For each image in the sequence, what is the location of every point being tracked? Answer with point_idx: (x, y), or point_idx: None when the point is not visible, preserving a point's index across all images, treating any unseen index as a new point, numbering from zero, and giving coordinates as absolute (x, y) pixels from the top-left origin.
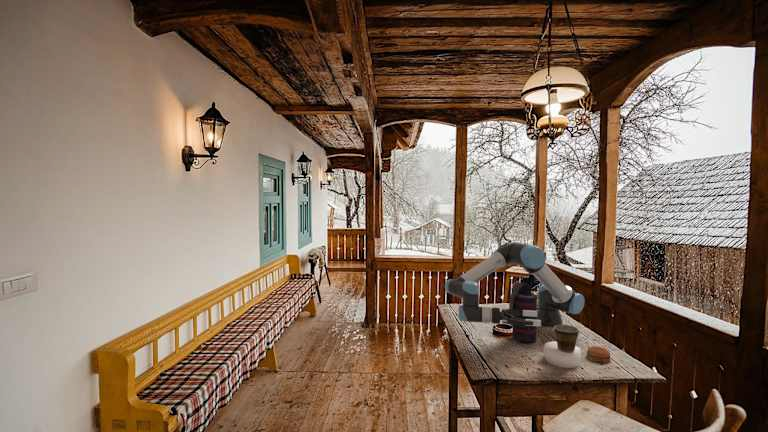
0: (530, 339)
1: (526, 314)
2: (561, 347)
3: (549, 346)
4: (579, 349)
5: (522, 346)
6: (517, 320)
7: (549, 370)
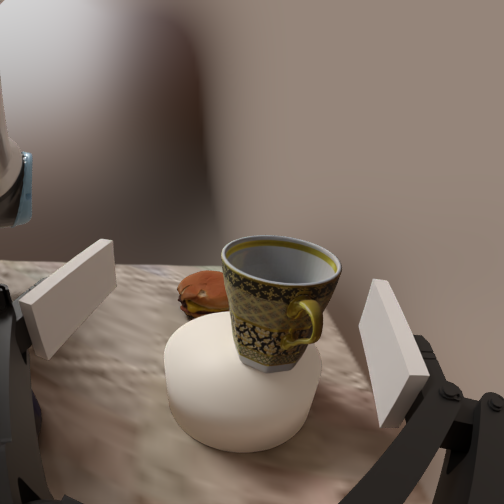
0: (37, 419)
1: (64, 323)
2: (299, 354)
3: (233, 395)
4: None
5: (64, 483)
6: (498, 459)
7: (354, 460)
